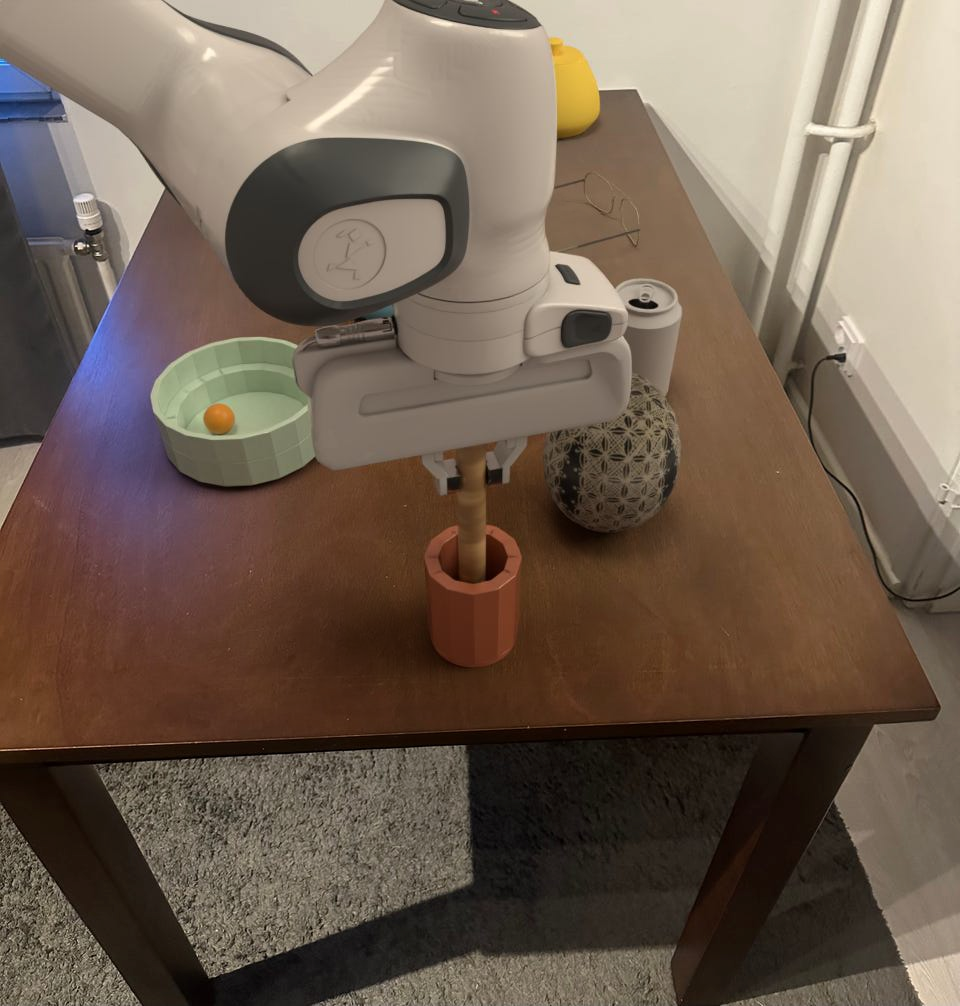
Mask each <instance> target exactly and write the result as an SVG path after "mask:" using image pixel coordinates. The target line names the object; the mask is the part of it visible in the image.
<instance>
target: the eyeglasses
mask: <svg viewBox="0 0 960 1006" xmlns="http://www.w3.org/2000/svg"><path fill="white" fill-rule="evenodd" d="M590 174H593V175H596V176H598V178H600V179H602V180H603V181H604V182H605V183H606V184H607V185H608V187H609V188H610V190H611V193H612V199H611V204H612V205H611V209H610V211H605V210H603V209H602V208H600V207H598V206H596V205H595V204H594V203H593V202H592V201H591V200H590V199H589V197H588V196H587V191H586V181H587V177H588V176H589V175H590ZM579 183H583V193H584V197H585V198H586V201H587V202H588V203H589V204H590V205H591V206H593V208H596V209H597V210H599V211H600V212H602V213H604V214H611V213H612V212H613V210H614V205H615V198H617V199H618V200H619V201H621V202H620V206H619V208H618V210H620V218H621V219H620V220H621V224H622V226H623V229H624V231H625V232H621V233H618V234H614V235H611V236H607V237H604V238H601V239H597V240H593V241H590V242H586V243H582V244H578V245H574V246H570V247H566V248H562V249H558V250H556V251H554V252H559V253H566V252H569V251H573V250H577V249H580V248H583V247H587V246H590V245H594V244H598V243H602V242H605V241H608V240H613V239H616V238H618V237H619V238H620V237H623V236H628V238H629V239H630V240H631V242H632V244H633V246H635V247H638V245H639V243H640V231H641V228H640V217H639V212H638V209H637V207H636V206H635V205H634V204H633V203H632V201H631V198H630V197H628V195H626V194H625V193H624V192H623V191H621V189H619V188H618V187H617V186H616V185H615V184H613V183H612V181H608V180H607V179H606V178H604V177H603V176H602V175H601V174H599V173H597V172H594V171H589V172H587V173H586V174H585V175H584V178H582V179H578V180H574V181H571V182H566V183H562V184H559V185H554V190H556V189H560V188H563V187H568V186H571V185H575V184H579ZM612 186H613V187H614V188H615V189H616V190H618V191H619V192H620V193H621V194H623V196H624V197H626V198H622V199H621V198H620V197H619V196H618V195H615V191H614V189H613V187H612ZM625 201H627V202H628V203H629V204H630V205H631V206H632V208H634V211H635V213H636V218H637V228H636V229H633V230H629V231H628V230H627V228H626V226H625V223H624V217H623V204H625ZM634 233H637V242H635V240H634V239H633V238H632V236H631V234H634Z"/></svg>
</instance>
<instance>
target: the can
mask: <svg viewBox="0 0 960 1006" xmlns="http://www.w3.org/2000/svg"><path fill="white" fill-rule="evenodd" d="M614 289H615V290H616V292H617V293H618V295H619V296H620V298H621V300H622V302H623V304H624V305H625V308H626V310H627V312H628V324H627V328H626V331H625V333H624V334H623V337H624V338H625V340H626V341H627V343H628V345H629V347H630V350H631V357H632V372H633V373H636V374H638V375H640V376H642V377H644V378H645V379H647V380H648V381H650V382H651V383H652V384H654V385H655V386H656V387H657V388H658V389H659V390H660V391H661V392H662V394H663V395H664V396H665V397H666V396H667V394H668V392H669V387H670V382H671V376H672V372H673V371H672V370H673V365H674V360H675V356H676V355H675V354H676V349H677V343H678V340H679V339H678V338H679V332H680V326H681V321H682V316H683V307H682V306H681V304H680V302H679V295H678V293H677V291H676V289H674V288H673V287H672V286H670V285H669V284H667V283H665V282H663V281H661V280H657V279H653V278H642V277H641V278H631V279H627V280H625V281H622V282H621V283H619V284H618V285H616V287H614Z"/></svg>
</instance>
